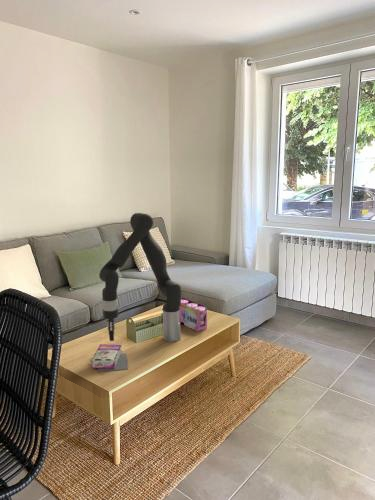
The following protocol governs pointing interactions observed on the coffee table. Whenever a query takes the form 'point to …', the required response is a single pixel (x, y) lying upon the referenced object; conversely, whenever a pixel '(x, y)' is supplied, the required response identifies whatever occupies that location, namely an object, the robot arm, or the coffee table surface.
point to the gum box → (193, 314)
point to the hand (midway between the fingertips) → (111, 340)
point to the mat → (119, 366)
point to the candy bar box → (106, 356)
